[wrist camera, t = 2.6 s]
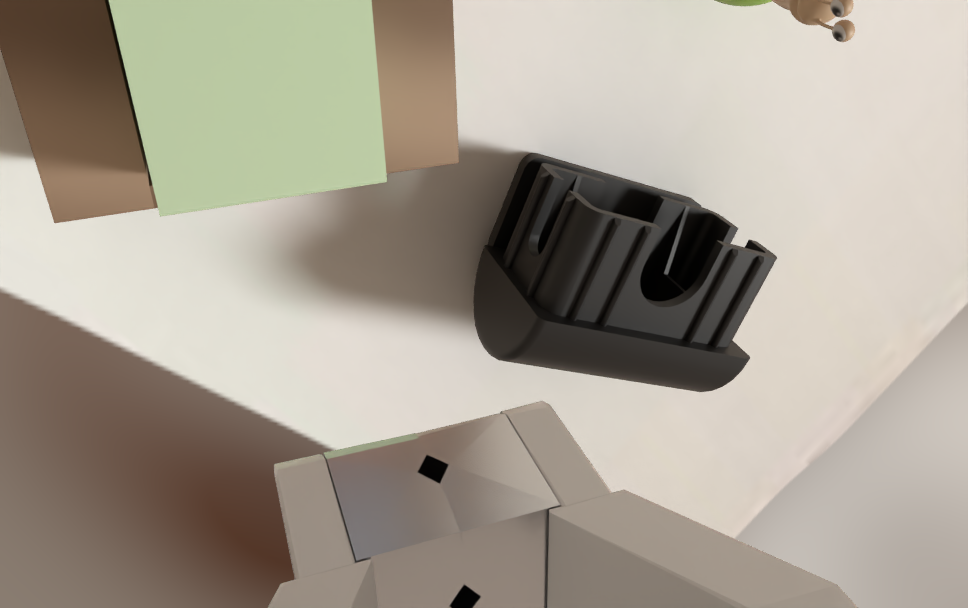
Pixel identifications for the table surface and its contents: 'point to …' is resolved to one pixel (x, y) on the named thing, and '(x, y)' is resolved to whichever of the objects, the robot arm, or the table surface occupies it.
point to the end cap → (614, 280)
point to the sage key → (252, 97)
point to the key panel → (112, 119)
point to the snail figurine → (813, 13)
